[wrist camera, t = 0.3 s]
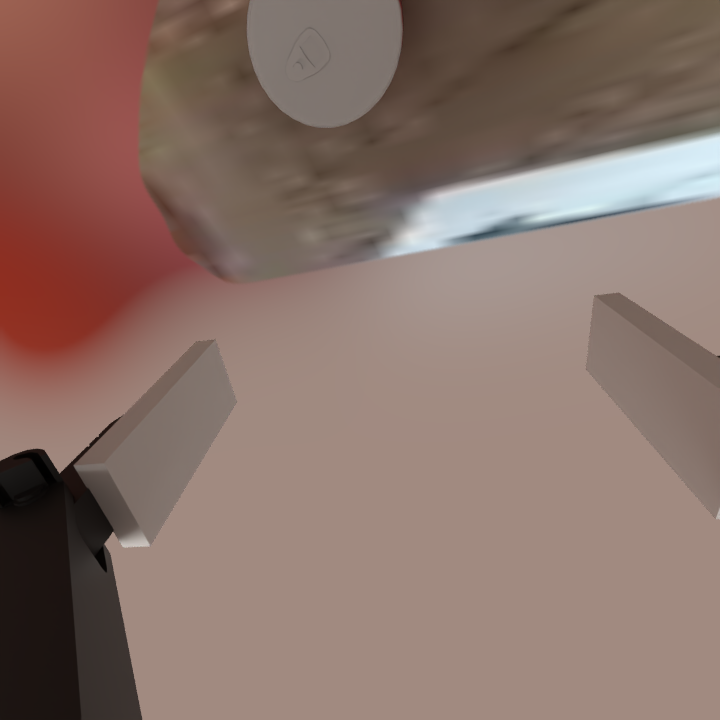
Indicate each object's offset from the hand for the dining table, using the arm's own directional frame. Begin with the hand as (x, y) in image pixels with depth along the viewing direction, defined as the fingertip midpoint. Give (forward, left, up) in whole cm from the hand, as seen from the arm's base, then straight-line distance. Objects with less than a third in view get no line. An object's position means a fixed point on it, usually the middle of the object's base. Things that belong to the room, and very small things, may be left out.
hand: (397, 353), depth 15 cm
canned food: (-2, -8, -26) cm, 27 cm away
